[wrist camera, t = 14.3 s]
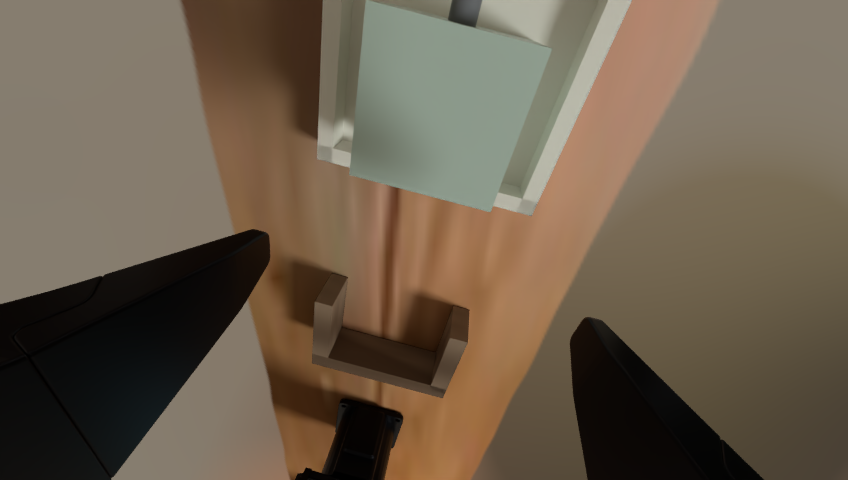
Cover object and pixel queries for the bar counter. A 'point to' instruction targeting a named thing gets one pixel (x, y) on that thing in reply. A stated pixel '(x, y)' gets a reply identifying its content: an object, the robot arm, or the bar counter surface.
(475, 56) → the block with peg handle
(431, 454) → the bar counter surface
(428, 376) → the dock
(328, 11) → the tray
